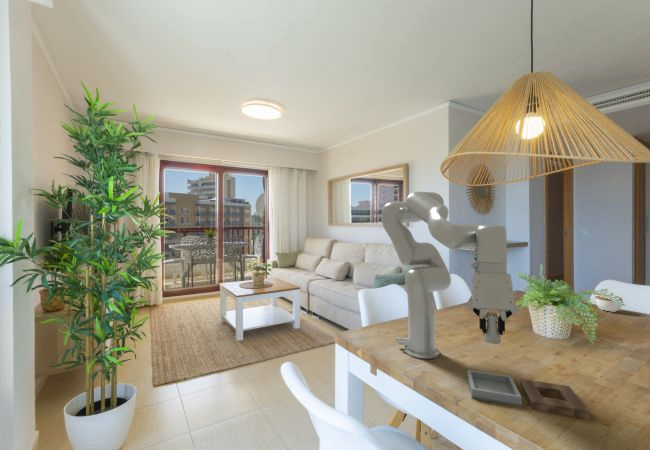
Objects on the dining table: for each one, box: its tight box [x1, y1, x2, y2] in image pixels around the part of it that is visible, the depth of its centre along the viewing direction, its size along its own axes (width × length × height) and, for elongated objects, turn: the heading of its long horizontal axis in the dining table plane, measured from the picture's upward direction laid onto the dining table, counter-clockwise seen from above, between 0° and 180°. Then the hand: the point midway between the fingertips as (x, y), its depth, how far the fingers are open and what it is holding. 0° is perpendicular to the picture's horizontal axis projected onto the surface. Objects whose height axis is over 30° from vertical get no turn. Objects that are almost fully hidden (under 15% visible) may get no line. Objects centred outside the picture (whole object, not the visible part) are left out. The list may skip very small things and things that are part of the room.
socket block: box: [518, 378, 591, 420], centre depth 80 cm, size 12×12×2 cm
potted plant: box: [594, 296, 623, 313], centre depth 162 cm, size 11×11×9 cm
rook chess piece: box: [483, 311, 502, 345], centre depth 84 cm, size 4×4×8 cm
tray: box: [467, 369, 523, 408], centre depth 85 cm, size 12×12×2 cm
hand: (492, 331), depth 85 cm, fingers closed on rook chess piece, 3 cm apart
